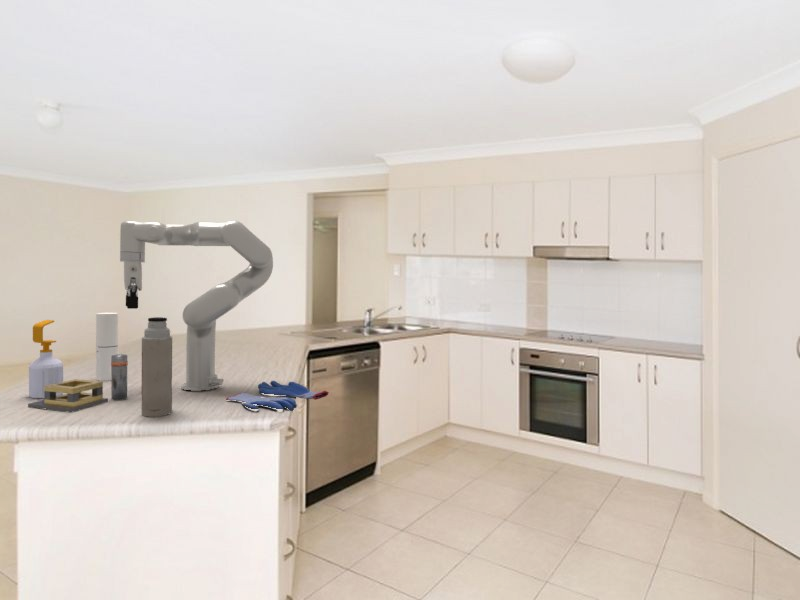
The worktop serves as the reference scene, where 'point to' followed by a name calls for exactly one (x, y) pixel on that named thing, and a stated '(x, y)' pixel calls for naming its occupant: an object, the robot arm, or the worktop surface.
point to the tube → (119, 376)
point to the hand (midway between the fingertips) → (131, 307)
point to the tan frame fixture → (71, 395)
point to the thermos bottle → (156, 368)
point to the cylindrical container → (105, 343)
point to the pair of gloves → (278, 389)
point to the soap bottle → (44, 365)
